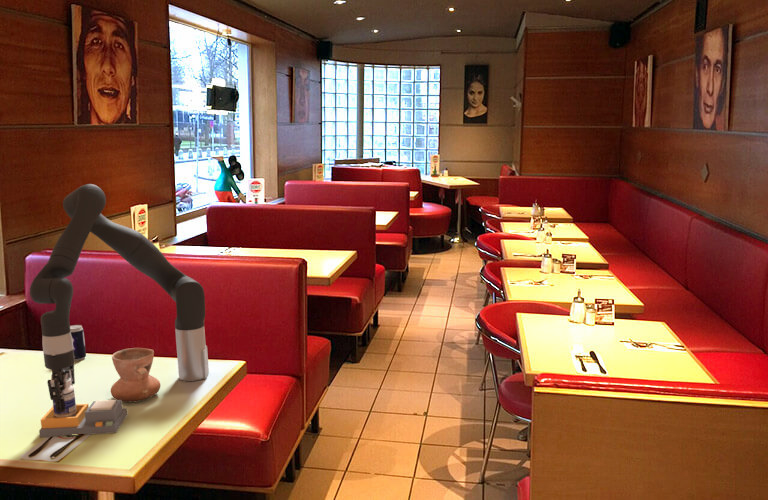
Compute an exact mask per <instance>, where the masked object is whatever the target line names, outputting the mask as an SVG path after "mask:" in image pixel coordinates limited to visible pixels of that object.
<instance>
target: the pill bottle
mask: <svg viewBox="0 0 768 500" xmlns="http://www.w3.org/2000/svg"><path fill="white" fill-rule="evenodd" d="M70 384H71V378H68V379H67V382H66V390H65V391H64V402H65V411H64V412H57V411H56V405H55V400H52V407H53V408H54V415H55V416H56V417H68V416H71V415H73V414H75V413H76V404H77V403H76V397H75V396H76V395H75V388H74V385H73V384H72V385H73V386H72V385H70ZM59 386H60V387H62V386H63V385H59ZM60 392H61V390H60Z"/></svg>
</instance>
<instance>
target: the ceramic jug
mask: <svg viewBox="0 0 768 500" xmlns="http://www.w3.org/2000/svg"><path fill="white" fill-rule="evenodd" d="M154 355H155V351H154V349H150V348H145V347H144V348H143V347H132V348H129V347H128V348H125V349H121V350H118V351H116V352H114V353H113V354H112V355H111V359H112V364H113V366H114V369H115V371H116V372H117V375H118V376H119V377H120V378H119V379H118V380H116V381H115V382H114V383H113V384H112V386H111V387H110V394H111V396H112V398H113V399H114V400H122V403H135V402H143V401H145V400H148V399H150V398H153V397H154V396H155V395H156V394H158V393H159V391H160V389H161V382H160V381H159V379H158V378H157V377H154V376H153V375H152V374H151V375H150V372H151V369H152V364H153V362H154V357H155V356H154Z"/></svg>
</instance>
